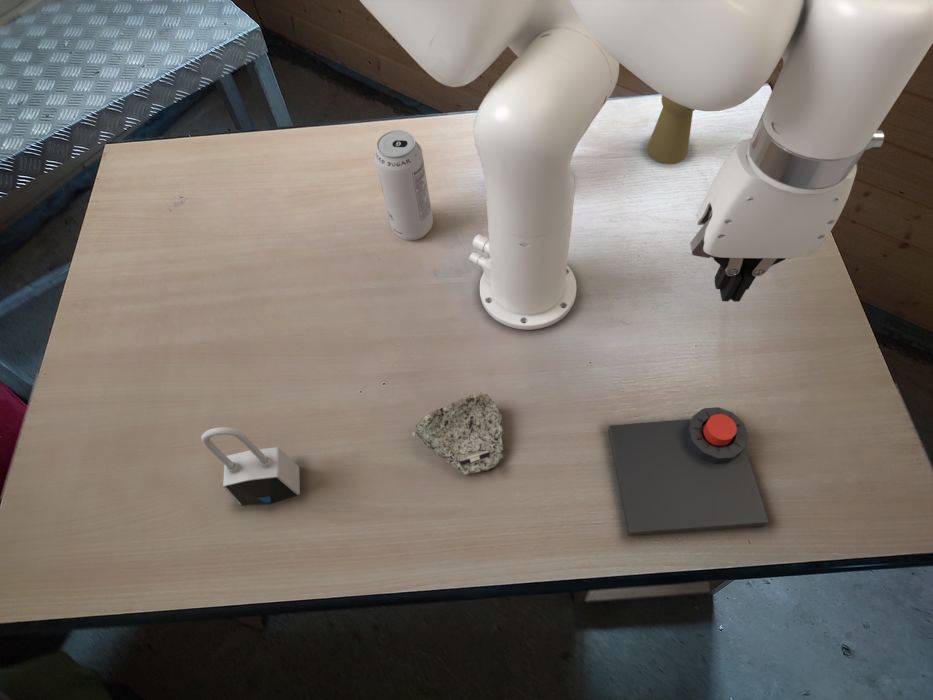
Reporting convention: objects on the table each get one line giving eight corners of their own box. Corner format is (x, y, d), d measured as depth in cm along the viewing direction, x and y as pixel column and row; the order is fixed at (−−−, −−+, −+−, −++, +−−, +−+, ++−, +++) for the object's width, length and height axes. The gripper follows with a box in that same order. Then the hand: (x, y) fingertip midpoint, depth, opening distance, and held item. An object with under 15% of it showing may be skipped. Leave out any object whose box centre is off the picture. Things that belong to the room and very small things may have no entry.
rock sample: (461, 495, 63) (444, 414, 62) (420, 483, 70) (403, 409, 68) (532, 460, 70) (518, 385, 68) (489, 452, 76) (474, 383, 74)
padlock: (239, 509, 68) (177, 457, 56) (241, 473, 71) (181, 415, 58) (299, 498, 69) (250, 444, 56) (299, 463, 71) (252, 403, 58)
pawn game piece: (692, 142, 94) (711, 77, 85) (681, 168, 92) (700, 104, 82) (653, 133, 96) (668, 68, 87) (641, 158, 93) (655, 94, 84)
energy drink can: (396, 211, 91) (377, 126, 78) (436, 213, 90) (424, 127, 77) (388, 242, 88) (367, 158, 75) (429, 244, 87) (415, 160, 74)
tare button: (707, 447, 66) (711, 440, 64) (699, 422, 67) (704, 415, 66) (735, 445, 66) (740, 438, 64) (727, 419, 67) (732, 412, 66)
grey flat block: (628, 536, 64) (632, 528, 62) (607, 426, 71) (610, 415, 68) (764, 526, 64) (775, 517, 61) (730, 417, 70) (738, 405, 68)
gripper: (891, 111, 48) (795, 261, 64) (696, 113, 49) (648, 260, 65) (923, 180, 45) (812, 321, 60) (712, 180, 45) (656, 320, 61)
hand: (727, 289), depth 63 cm, fingers closed
